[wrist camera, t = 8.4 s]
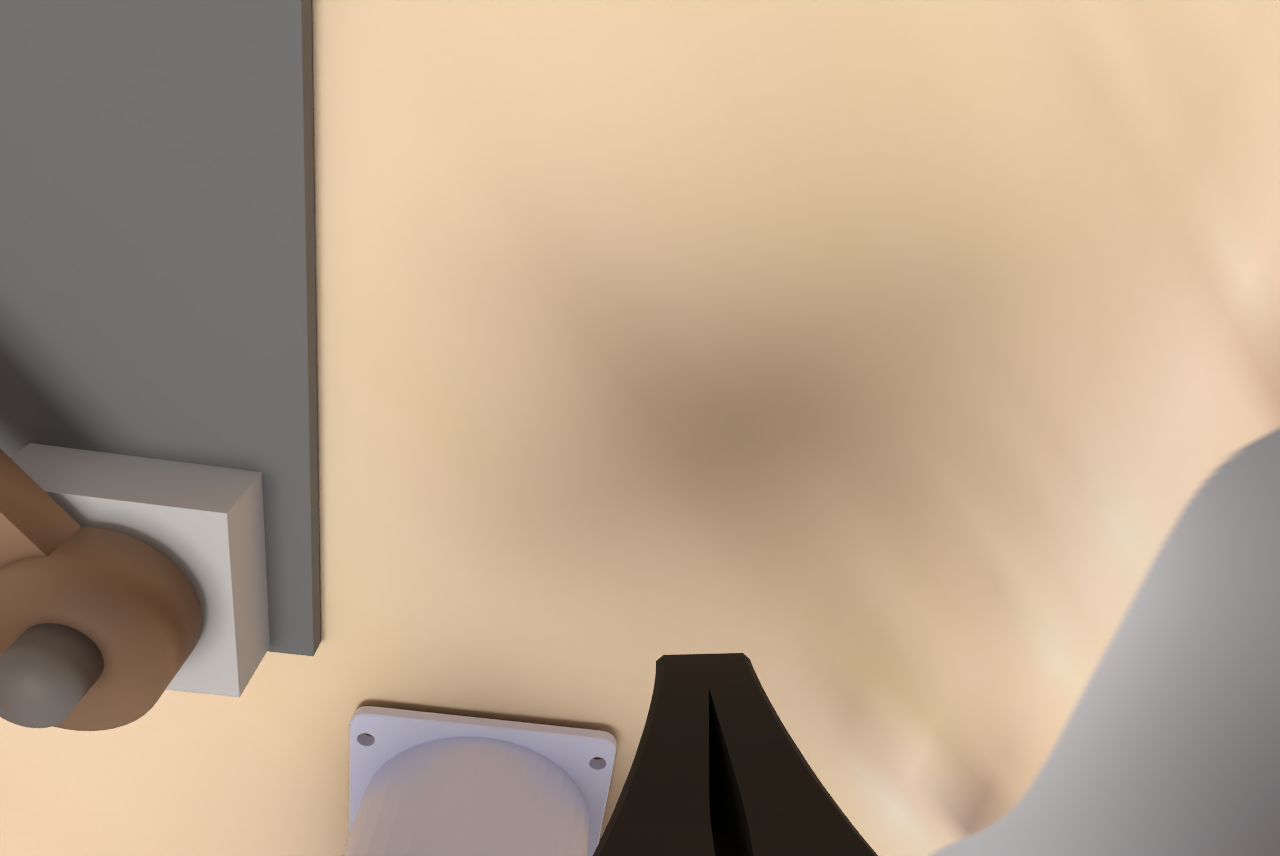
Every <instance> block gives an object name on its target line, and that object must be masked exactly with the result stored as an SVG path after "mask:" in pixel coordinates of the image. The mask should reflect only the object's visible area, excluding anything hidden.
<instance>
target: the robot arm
mask: <svg viewBox="0 0 1280 856" xmlns="http://www.w3.org/2000/svg"><path fill="white" fill-rule="evenodd" d="M363 733H367V734H371V735H372V736H367V735H365V734H363ZM615 755H616V739H615V738H614V736H613V735H612V734H610V733H609V732H605V731H600V730H591V729H582V728H572V727H563V726H553V725H544V724H534V723H525V722H515V721H506V720H497V719H487V718H478V717H468V716H459V715H449V714H440V713H430V712H421V711H412V710H402V709H393V708H383V707H374V706H363V707H360V708H358V709H357V710H356V711H355V712H354V713H353V716H352V718H351V721H350V726H349V838H348V841H347V844H346V846H345V849H344V852H343V855H342V856H878V855H877V854H876V853H875V852H874V850H873V849H872V848H871V847H870V846H869V844H868V843H867V842H866V841H865V840H864V839H863V837H862V836H861V835H860V834H859V832H858V831H857V830H856V829H855V827H854V826H853V825H852V824H851V822H850V821H849V820H848V818H847V817H846V816H845V814H844V813H843V812H842V811H841V809H840V808H839V807H838V805H837V804H836V802H835V801H834V800H833V798H832V797H831V796H830V794H829V793H828V792H827V790H826V789H825V787H824V786H823V785H822V783H821V782H820V780H819V779H818V778H817V776H816V775H815V773H814V772H813V770H812V769H811V767H810V766H809V764H808V763H807V761H806V760H805V758H804V757H803V755H802V754H801V752H800V750H799V749H798V747H797V746H796V744H795V743H794V741H793V740H792V738H791V736H790V735H789V733H788V732H787V730H786V728H785V727H784V725H783V723H782V722H781V720H780V718H779V716H778V715H777V713H776V711H775V709H774V708H773V706H772V704H771V702H770V701H769V699H768V697H767V695H766V693H765V691H764V689H763V687H762V685H761V683H760V681H759V679H758V677H757V675H756V673H755V671H754V668H753V666H752V664H751V661H750V659H749V658H748V657H747V656H746V655H744V654H743V653H727V654H687V655H663V656H662V657H661V658H659V659H658V660H657V661H656V677H655V684H654V690H653V695H652V700H651V704H650V708H649V712H648V716H647V720H646V724H645V727H644V730H643V733H642V736H641V740H640V743H639V746H638V749H637V752H636V755H635V758H634V761H633V764H632V767H631V769H630V772H629V774H628V777H627V779H626V782H625V784H624V787H623V789H622V792H621V794H620V797H619V799H618V802H617V804H616V807H615V809H614V811H613V814H612V816H611V818H610V820H609V823H608V825H607V827H606V829H605V831H604V834H603V836H602V838H601V840H600V842H599V839H600V834H601V829H602V823H603V818H604V813H605V808H606V802H607V797H608V792H609V787H610V782H611V776H612V771H613V766H614V761H615ZM595 757H600V758H603V759H599V760H597V759H593V758H595Z"/></svg>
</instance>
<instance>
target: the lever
mask: <svg viewBox="0 0 1280 856" xmlns="http://www.w3.org/2000/svg"><path fill="white" fill-rule="evenodd" d="M202 625H203V615H202V609H201V604H200V601H199V599H198V596H197V594H196V592H195V590H194V588H193V586H192V584H191V583H190V581H189V580H188V579H187V577H186V576H185V574H184V573H183V572H182V571H181V570H180V569H179V568H178V567H177V566H176V565H175V564H174V563H173V562H172V561H171V560H170V559H169V558H168V557H166V556H165V555H163V554H162V553H161V552H159V551H158V550H157V549H155V548H153V547H151V546H150V545H148V544H146V543H145V542H142V541H140V540H138V539H136V538H134V537H131V536H129V535H126V534H123V533H120V532H116V531H112V530H109V529H103V528H96V527H81V526H80V525H79V524H78V523H77V522H76V521H75V520H74V519H73V518H72V517H71V516H70V515H69V514H68V513H67V512H66V511H65V510H63V509H62V508H61V507H60V506H59V505H58V504H57V503H56V502H55V501H54V500H53V499H52V498H51V497H50V496H49V495H48V494H47V493H46V492H45V491H44V490H43V489H42V488H41V487H40V486H39V485H38V484H37V483H36V482H35V481H34V480H33V479H32V478H31V477H29V476H28V475H27V474H26V473H25V472H24V471H23V470H22V469H21V468H20V467H19V466H18V465H17V464H16V463H15V462H14V461H13V460H12V459H11V458H10V457H9V456H8V455H7V454H6V453H5V452H4V451H3V450H2V449H1V448H0V717H2V718H4V719H5V720H7V721H9V722H12V723H14V724H17V725H20V726H24V727H30V728H46V727H51V726H54V727H58V728H63V729H70V730H77V731H98V730H107V729H113V728H117V727H120V726H124V725H126V724H129V723H131V722H133V721H135V720H137V719H138V718H140V717H142V716H143V715H144V714H146V713H147V712H148V711H149V710H150V709H151V708H152V707H153V706H154V704H155V703H156V702H157V701H158V699H159V698H160V696H161V695H162V694H163V692H164V691H165V689H166V688H167V687H168V685H169V684H170V682H171V681H172V680H173V678H174V677H175V675H176V674H177V672H178V671H179V670H180V668H181V667H182V665H183V664H184V663H185V661H186V660H187V658H188V657H189V656H190V654H191V653H192V651H193V650H194V649H195V647H196V645H197V643H198V641H199V639H200V636H201V632H202Z"/></svg>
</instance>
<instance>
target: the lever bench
mask: <svg viewBox="0 0 1280 856" xmlns="http://www.w3.org/2000/svg"><path fill="white" fill-rule="evenodd" d="M0 448H1V449H2V450H3V451H4V452H5V453H6V454H7V455H8V456H9V457H10V458H11V459H12V460H13V461H14V462H15V463H16V464H17V465H18V466H19V467H20V468H21V469H22V470H23V471H24V472H25V473H26V474H27V475H28V476H29V477H31V478H32V479H33V480H34V481H35V482H36V483H37V484H38V485H39V486H40V487H41V488H42V489H43V490H44V491H45V492H46V493H47V494H48V495H49V496H50V497H51V498H52V499H53V500H54V501H55V502H56V503H57V504H58V505H59V506H60V507H61V508H62V509H63V510H65V511H66V512H67V513H68V514H69V515H70V516H71V517H72V518H73V519H74V520H75V521H76V522H77V523H78V524H79V525H80V526H81V527H96V528H103V529H109V530H112V531H116V532H120V533H123V534H126V535H129V536H131V537H134V538H136V539H138V540H140V541H142V542H145V543H146V544H148V545H150V546H151V547H153V548H155V549H157V550H158V551H159V552H161V553H162V554H163V555H165V556H166V557H168V558H169V559H170V560H171V561H172V562H173V563H174V564H175V565H176V566H177V567H178V568H179V569H180V570H181V571H182V572H183V573H184V574H185V576H186V577H187V579H188V580H189V581H190V583H191V584H192V586H193V588H194V590H195V592H196V594H197V596H198V599H199V601H200V604H201V609H202V615H203V625H202V632H201V636H200V639H199V641H198V643H197V645H196V647H195V649H194V650H193V651H192V653H191V654H190V656H189V657H188V658H187V660H186V661H185V663H184V664H183V665H182V667H181V668H180V670H179V671H178V672H177V674H176V675H175V677H174V678H173V680H172V681H171V682H170V684H169V685H168V687H167V688H166V689H165V690H175V691H184V692H194V693H203V694H213V695H222V696H232V697H240V696H241V694H242V692H243V691H244V689H245V687H246V686H247V684H248V682H249V680H250V679H251V677H252V675H253V674H254V672H255V670H256V669H257V667H258V665H259V663H260V662H261V660H262V658H263V657H264V655H265V653H266V652H267V651H270V652H279V653H288V654H297V655H307V656H314V654H315V652H316V650H317V648H318V646H319V644H320V642H321V635H320V563H319V491H318V420H317V348H316V276H315V204H314V133H313V61H312V0H0Z"/></svg>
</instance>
